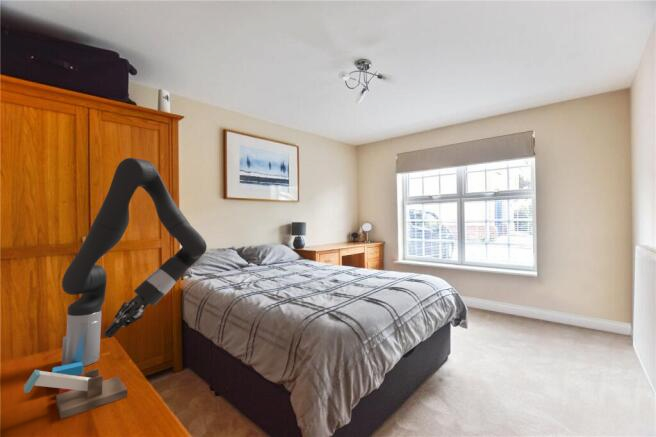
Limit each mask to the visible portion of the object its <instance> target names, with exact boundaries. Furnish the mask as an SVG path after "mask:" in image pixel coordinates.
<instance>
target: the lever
mask: <svg viewBox="0 0 656 437" xmlns="http://www.w3.org/2000/svg"><path fill="white" fill-rule="evenodd" d="M51 372H52V373H59V374H66V375H74V376H79V375H80V376H81V375H83V374H84V366H83V364H82V362H77V363H72V364H67V365H60V366H54V367H52V371H51ZM71 390H73V389H63V388H59V391H58V392H59V393H58V394H61V393H64V392H68V391H71Z"/></svg>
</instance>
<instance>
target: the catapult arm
mask: <svg viewBox="0 0 656 437" xmlns="http://www.w3.org/2000/svg"><path fill="white" fill-rule="evenodd" d="M88 379H90V378H89V377H84V376H81V375H80V376H79V375H76V376H74V375H66V374H59V373H52V371H51V372H49V371H44V370H39V369H34V371H33V372H32V374H31V375H30V377H29V378H28V379H27V381H26V382H25V384H24V385H23V391H24V393H26V394H29V393H30V392H31V390H32V389H33V387H34V386H35V387H36V386H37V387H44V388H45V387H48V388H54V389H55V388H57V389H60V388H63V389H73V390H82V391H88Z"/></svg>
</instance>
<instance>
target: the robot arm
mask: <svg viewBox="0 0 656 437" xmlns="http://www.w3.org/2000/svg"><path fill="white" fill-rule="evenodd" d="M139 187H140V188H142V189H144V191H145V192H146V193H147V194H148V195H149V197H150V198H151V199H152V202H153V204H154V207H155V210H156V213H157V217H158V219H159V221H160V222H161V224H162V226H163V227H164V228H165V229H166V231H167V232H168V233H169V235H170V236H171V237H172V238H174V239H176V241H177V242H178V243H179V245H180V246H181V248H180V249H179V250H178V251H177V252H176V253H175V254H174V255H173V256H171V257H169V258H168V259H167V260H166V261H165V262H163V263H162V264H161V265H160V266H159V267H158V268H157V269H155V271H153V272H152V273H151V274H150V275H149V276H147V278H145V280H143V281H142V282H141V283H140V284H139V285H138V286H137V287H136V288H135V289H134V290H133V292H134V294H136V295H135V297H133V298H132V299H130V300H129V301H128V302H127V301H124V302H123V304H122V305H121V306H120V308H119V309H118V311H117V312H116V314H115V316H114V317H113V318H114V319H113V322H112V323H111V324H110V325H109V326H107V328H106V329H105V330H104V331H103V335H104V336H106V337H107V338H109V339H110V338H112V337H113V336H114V335H116V333H117V332H119V330H120V329H121V328H124V327H125V328H127V327H129V326H130V325H131V324H134V323H135V322H137V321H138V320H140V319H142V318H143V316H144V314H143V312H144V311H145V309H147V307H148V305H150V306H152V307H154V306H156V305H157V303H159V302H160V301H161V300H162V299H163V297H164V296H165V295H166V294H168V292H169V291H171V289H172V288H173V287H174V286H175V284H176V283H177V282H178V281H179V280H180V279H181V278H182V277H183V276H184V275H185V273H187V271H188V270H189V269H190V268H191V267H192V266H193V265H194V264H195V263H196V262H197V261H198V260H199V259H200V258H201V257H202V256H204V254H205V252H207V247H208V246H207V243H206V240H204V238H203V237H202V235H201V234H200V233H199V232H198V231H197V230H196V228H194V227H193V226H192V225H191V224H190V222H189V221H188V218H186V216H185V215H184V214H183V212H182V211H181V209H180V208H179V207H178V206H177V204H176V202H175V201H174V199H173V198H172V196H171V194H170V192H169V191H168V189H167V187H166V184H165V183H164V181H163V179H162V176H161V174H160V173H159V170H158V169H157V168H156V166H155V165H154V164H153V163H152V162H150V161H149V160H146V159H139V158H134V157H128V158H124V159H123V160H120V162H119V164H118V165H117V167H116V169H115V171H114V173H113V176H112V180H111V183H110V186H109V190H108V192H107V194H106V196H105V199H104V200H103V202H102V205H101V207H100V208H99V210H98V213H97V215H96V216H95V218H94V220H93V223H92V224H91V226H90V227H89V231H88V233H87V235H86V237H85V239H84V241H83V243H82V245H81V246H80V249H79V250H78V252H77V254H76V255H75V257H74V258H73V260H72V261H71V263H70V264H69V266H68V268H67V269H66V270H65V272H64V274H63V277H62V281H61V288H62V290H63V291H64V293H65V294H68V295H70V296H75V295H81V296H80V297H79V298H78V299H76V300H75V301H74V302H72V303H70V304H69V306H68V307H67V317H66V335H65V336H63V337H62V348H61V349H62V351H61V353H62V354H61V366H63V365H67V364H72V363H77V362H82V364H83V367H86V366H89V365H92V364H94V363H97V362H98V361H99V360H100V349H101V331H102V330H101V328H102V309H103V304H104V302H105V299H106V290H107V281H108V279H107V272H106V270H105V268H104V267H103V266H101V265H98V264H97V262H98V261H99V260H100V259H101V258H102V257H103V256H104V255H106V254H107V253H108V252H109V251H111V249H113V248H114V247H115V246H116V245H117V244H118V243H119V242H120V241H121V239H122V238H123V236H124V234H125V232H126V230H127V229H128V226H129V223H130V202H131V200H132V197H133V196H134V194H135V192H136V191H137V189H138V188H139Z"/></svg>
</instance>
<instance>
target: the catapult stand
mask: <svg viewBox="0 0 656 437" xmlns="http://www.w3.org/2000/svg"><path fill="white" fill-rule="evenodd" d="M83 374H84V375H83V377H89V378H90V379H88V391H82V390H71V391H68V392H64V393H61V394H60V393H58V394H56V395H55V397H56V398H55V403H56V408H57V410H58V414H59V417H60V420H64V419H67V418H70V417H73V416H75V415H78V414H81V413H83V412H88V411H89V410H93V409H95V408H98V407H101V406H104V405H107V404H109V403H112V402H116V401H118V400H121V399H124V398H127V397H128V388H127V387H126V386H125V384H124V382H123V380H121V379H120V376H115V377H112V378H109V379H105V380H104V376H103V374H101V375H99V368H94V369H91V370H87V371H84V373H83Z"/></svg>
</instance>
